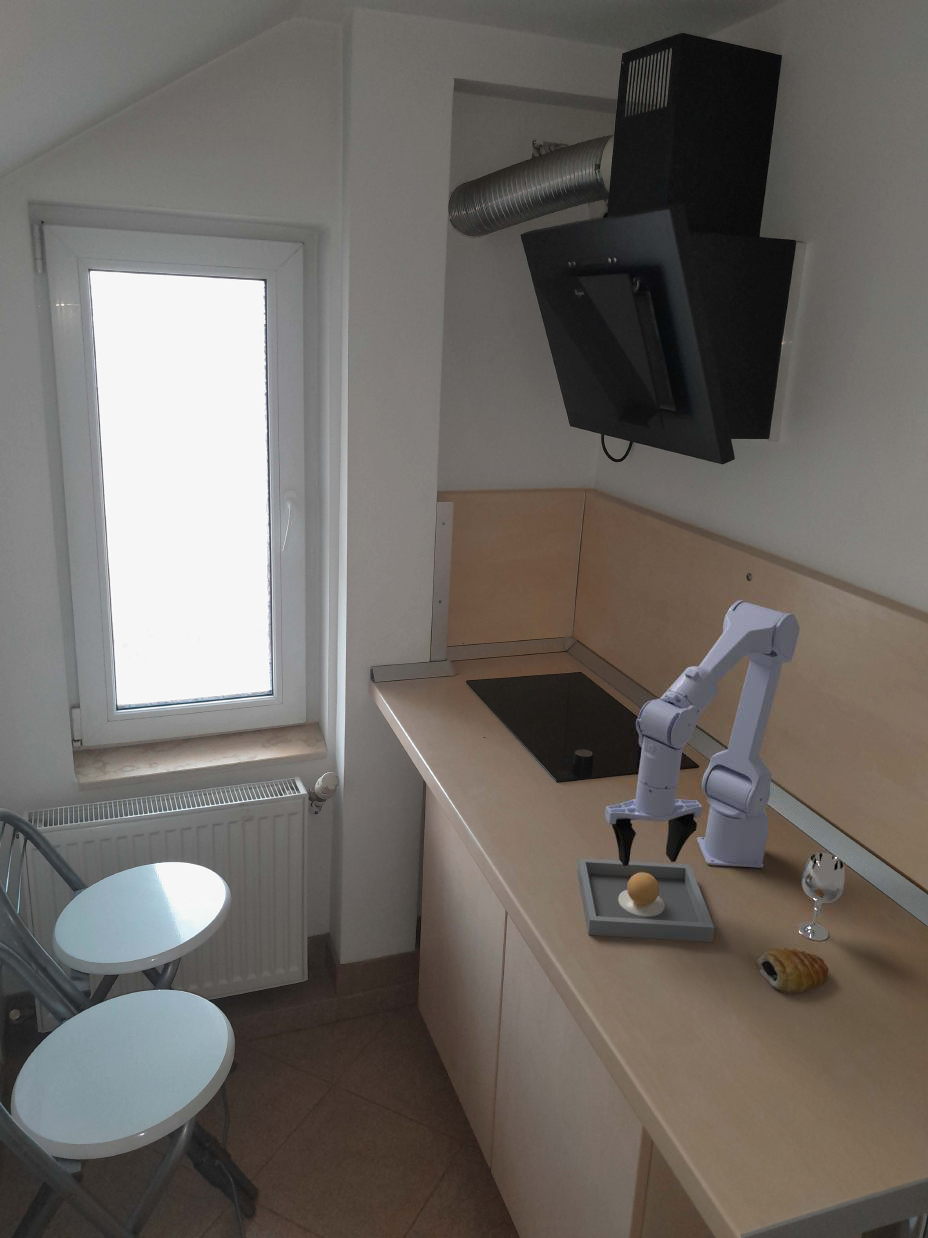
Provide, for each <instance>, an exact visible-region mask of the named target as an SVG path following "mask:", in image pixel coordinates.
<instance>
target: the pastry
mask: <svg viewBox="0 0 928 1238" xmlns="http://www.w3.org/2000/svg"><path fill="white" fill-rule="evenodd" d="M756 965H757V967H758V970H759V974H760V975H761V976H762V977H763V978H765V979H766V981H768V982H769V984H770V985H771V986H772V987H773V988H774V989H776V990H778V991H781V992H782V993H785V994H791V995H794V994H797V993H801V994H802V993H804V992H808V991H810V990H813V989H815V988H817V987H819V986H822V985H823V984H824V983H825V982H826V980H828V977H829V967H828V965H827V964H826V963H825V960H824V959H823V958H822V957H820V956H818V955H816V954H814V953H809V952H806V951H803V950H802V951H800V950H797V949H796V948H792V949H789V948H788V947H781V948H780V949H777V948H771V949H769V950H768V951H767V952H764V953H763V954H762V955H760V956H759V957H758V958H757V960H756Z"/></svg>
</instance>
